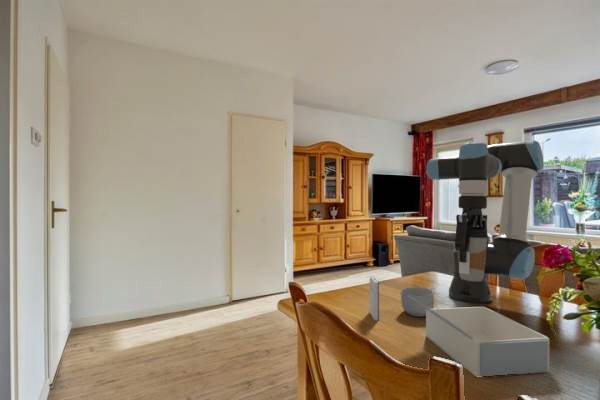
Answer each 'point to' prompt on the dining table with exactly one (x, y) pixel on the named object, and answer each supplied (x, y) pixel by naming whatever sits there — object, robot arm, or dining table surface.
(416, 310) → the teacup
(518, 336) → the carton
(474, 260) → the coffee cup
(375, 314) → the hard drive
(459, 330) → the flap
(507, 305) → the dining table surface
